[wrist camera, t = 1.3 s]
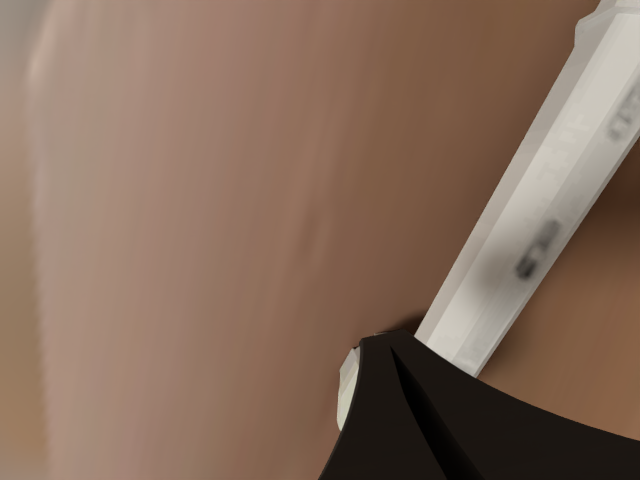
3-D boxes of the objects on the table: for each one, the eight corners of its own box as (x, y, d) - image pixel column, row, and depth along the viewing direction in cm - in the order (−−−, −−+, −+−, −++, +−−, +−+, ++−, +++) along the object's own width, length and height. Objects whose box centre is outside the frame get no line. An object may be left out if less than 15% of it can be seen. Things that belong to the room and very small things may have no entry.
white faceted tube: (803, -29, 13) (444, 554, 15) (626, 44, 20) (392, 441, 21) (698, -123, 12) (329, 509, 14) (550, -14, 19) (312, 405, 20)
